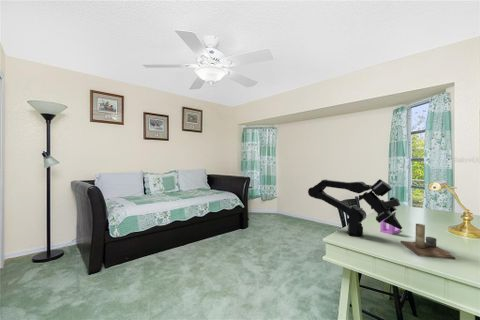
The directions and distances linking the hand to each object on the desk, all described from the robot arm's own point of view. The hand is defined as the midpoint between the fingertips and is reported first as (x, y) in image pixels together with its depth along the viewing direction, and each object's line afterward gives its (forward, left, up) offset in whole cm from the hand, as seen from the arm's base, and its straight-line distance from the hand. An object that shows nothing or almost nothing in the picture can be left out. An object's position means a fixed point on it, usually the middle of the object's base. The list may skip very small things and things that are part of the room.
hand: (401, 228), depth 102 cm
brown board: (+8, -3, -8) cm, 12 cm away
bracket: (+4, +22, -8) cm, 24 cm away
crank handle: (+9, -2, -7) cm, 11 cm away
